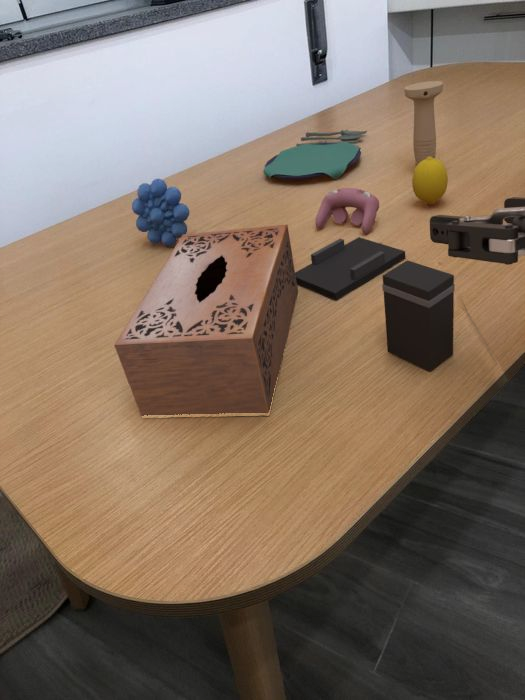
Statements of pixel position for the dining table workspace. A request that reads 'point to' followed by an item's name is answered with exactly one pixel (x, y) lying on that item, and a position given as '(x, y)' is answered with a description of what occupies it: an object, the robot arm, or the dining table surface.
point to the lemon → (430, 180)
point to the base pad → (346, 266)
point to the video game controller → (348, 198)
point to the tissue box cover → (213, 324)
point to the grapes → (160, 212)
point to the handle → (424, 117)
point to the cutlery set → (316, 157)
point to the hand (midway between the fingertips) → (470, 218)
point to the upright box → (419, 314)
